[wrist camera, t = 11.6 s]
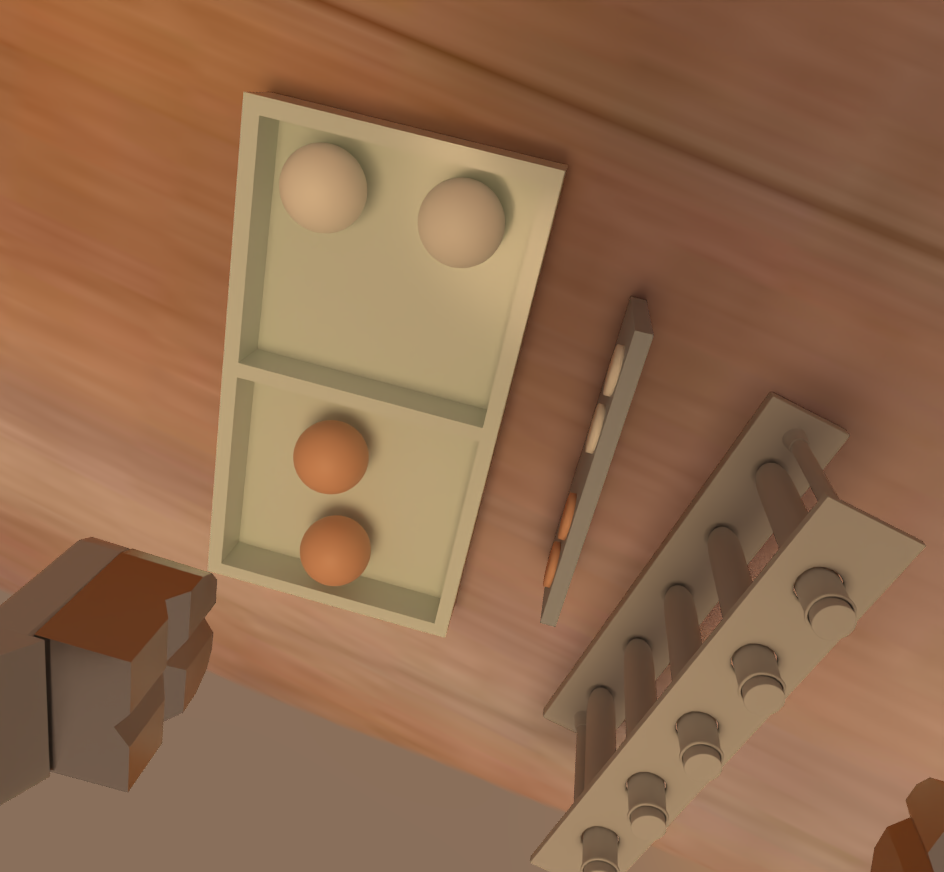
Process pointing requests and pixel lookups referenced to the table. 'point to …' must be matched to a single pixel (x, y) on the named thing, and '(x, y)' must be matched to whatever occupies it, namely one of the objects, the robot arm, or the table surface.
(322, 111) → the twin dish
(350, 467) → the terracotta ball
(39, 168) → the table surface
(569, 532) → the card
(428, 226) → the ivory ball
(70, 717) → the robot arm
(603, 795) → the test tube rack
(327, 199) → the ivory ball
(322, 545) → the terracotta ball
